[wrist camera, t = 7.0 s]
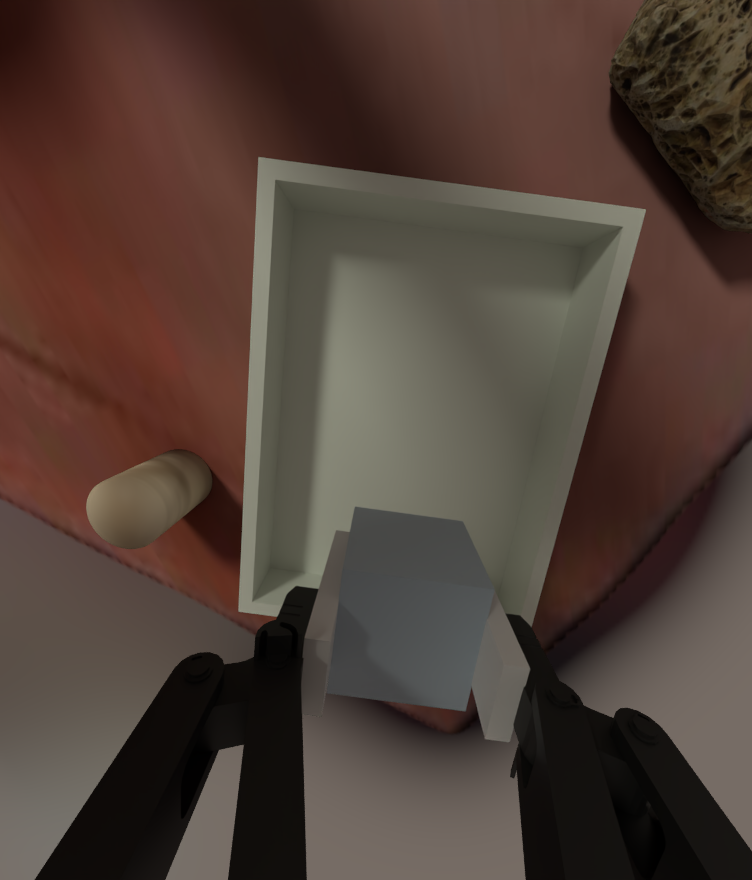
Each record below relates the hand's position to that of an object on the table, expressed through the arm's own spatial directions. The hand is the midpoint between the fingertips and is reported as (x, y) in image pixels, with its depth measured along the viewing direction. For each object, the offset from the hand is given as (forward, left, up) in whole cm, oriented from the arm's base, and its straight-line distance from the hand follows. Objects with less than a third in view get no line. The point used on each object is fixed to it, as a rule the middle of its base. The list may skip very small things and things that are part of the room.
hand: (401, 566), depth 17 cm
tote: (0, +4, -13) cm, 14 cm away
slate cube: (0, 0, 0) cm, 0 cm away
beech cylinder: (-18, -3, -13) cm, 22 cm away
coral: (+16, +25, -14) cm, 33 cm away
